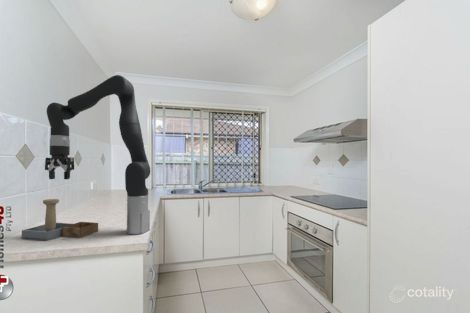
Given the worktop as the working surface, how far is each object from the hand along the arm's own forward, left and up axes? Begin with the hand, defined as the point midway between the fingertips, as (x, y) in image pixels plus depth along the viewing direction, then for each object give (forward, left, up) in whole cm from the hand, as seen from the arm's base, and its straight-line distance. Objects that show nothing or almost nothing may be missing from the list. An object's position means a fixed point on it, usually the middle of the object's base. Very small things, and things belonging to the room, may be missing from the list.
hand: (59, 179), depth 103 cm
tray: (0, +4, -25) cm, 25 cm away
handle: (0, +4, -25) cm, 25 cm away
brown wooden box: (-13, 0, -25) cm, 28 cm away
